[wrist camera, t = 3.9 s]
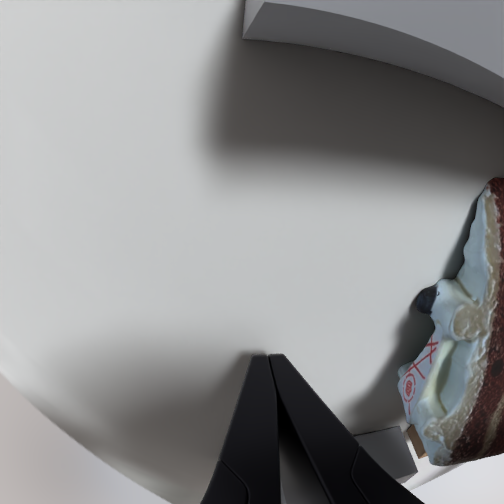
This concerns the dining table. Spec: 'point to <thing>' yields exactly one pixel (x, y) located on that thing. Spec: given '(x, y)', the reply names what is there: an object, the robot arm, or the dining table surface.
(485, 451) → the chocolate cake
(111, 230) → the dining table surface
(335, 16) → the bay
